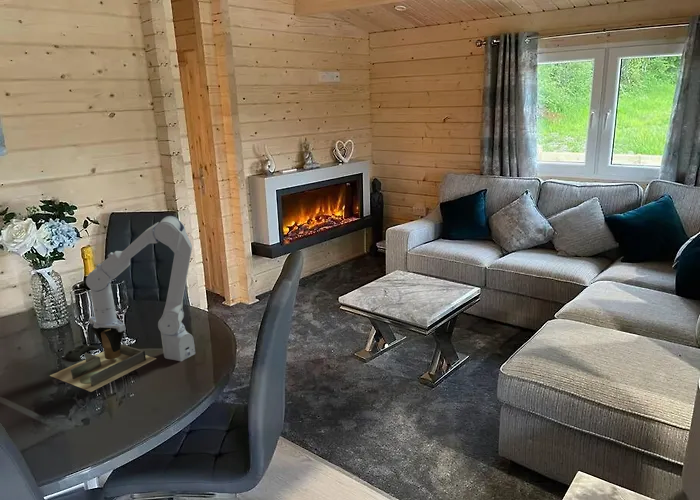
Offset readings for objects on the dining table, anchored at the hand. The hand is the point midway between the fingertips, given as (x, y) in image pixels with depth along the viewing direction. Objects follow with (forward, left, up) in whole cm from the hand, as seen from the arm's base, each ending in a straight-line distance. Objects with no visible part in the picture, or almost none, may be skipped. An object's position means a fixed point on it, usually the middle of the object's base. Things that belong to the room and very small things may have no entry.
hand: (111, 348), depth 160 cm
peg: (0, 0, -2) cm, 2 cm away
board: (-1, +4, -5) cm, 6 cm away
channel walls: (-1, +4, -4) cm, 6 cm away
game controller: (+14, +2, -5) cm, 15 cm away
